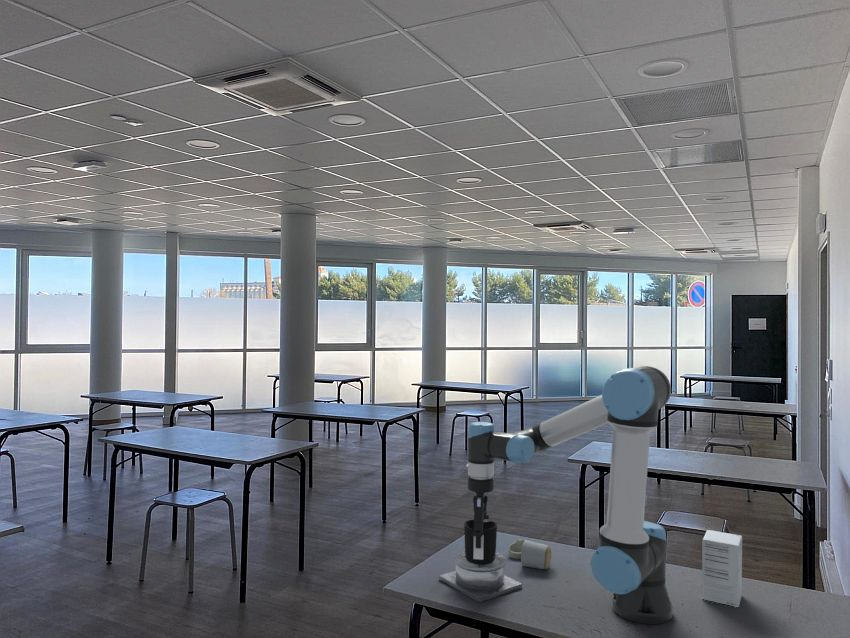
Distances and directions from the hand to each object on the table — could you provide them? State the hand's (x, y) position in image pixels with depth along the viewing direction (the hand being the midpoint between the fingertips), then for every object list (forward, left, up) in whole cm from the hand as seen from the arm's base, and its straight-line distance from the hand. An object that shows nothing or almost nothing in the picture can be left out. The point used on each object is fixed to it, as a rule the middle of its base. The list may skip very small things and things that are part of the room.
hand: (480, 550), depth 180 cm
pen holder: (0, 0, -3) cm, 3 cm away
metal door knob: (0, 0, -10) cm, 10 cm away
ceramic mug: (0, -23, -10) cm, 25 cm away
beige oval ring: (+8, -25, -10) cm, 28 cm away
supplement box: (-45, -49, -10) cm, 67 cm away
